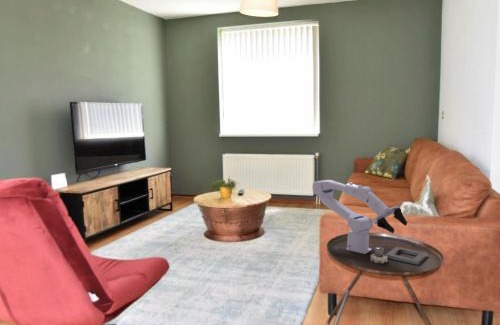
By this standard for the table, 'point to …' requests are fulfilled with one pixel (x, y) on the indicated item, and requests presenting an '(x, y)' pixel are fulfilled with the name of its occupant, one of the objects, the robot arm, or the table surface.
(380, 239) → the table surface
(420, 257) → the carrier plate
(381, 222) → the robot arm
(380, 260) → the planet gear
